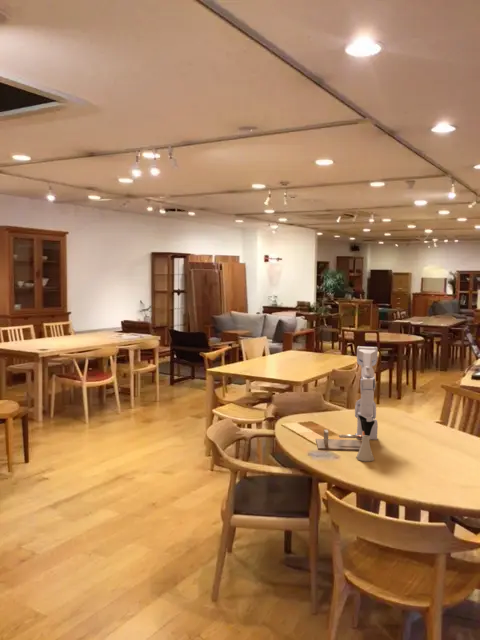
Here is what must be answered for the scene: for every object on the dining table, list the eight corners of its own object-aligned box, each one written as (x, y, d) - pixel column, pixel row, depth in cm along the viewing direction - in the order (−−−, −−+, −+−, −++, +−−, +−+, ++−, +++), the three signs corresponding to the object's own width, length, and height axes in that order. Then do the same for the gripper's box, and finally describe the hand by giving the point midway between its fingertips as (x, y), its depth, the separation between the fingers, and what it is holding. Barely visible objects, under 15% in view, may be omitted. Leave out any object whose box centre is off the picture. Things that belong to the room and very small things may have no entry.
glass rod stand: (366, 440, 267) (367, 430, 267) (368, 443, 262) (369, 433, 262) (338, 439, 268) (338, 429, 267) (339, 443, 263) (339, 432, 262)
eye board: (362, 441, 272) (363, 427, 271) (367, 451, 258) (368, 436, 257) (315, 440, 273) (316, 426, 272) (318, 449, 259) (318, 435, 258)
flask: (363, 463, 242) (364, 439, 241) (353, 457, 249) (353, 435, 248) (377, 460, 246) (378, 437, 245) (366, 455, 252) (367, 433, 251)
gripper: (355, 399, 270) (354, 428, 272) (360, 407, 256) (359, 437, 257) (371, 400, 270) (369, 428, 271) (376, 407, 256) (375, 438, 257)
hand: (365, 433), depth 264 cm, fingers open, 7 cm apart
